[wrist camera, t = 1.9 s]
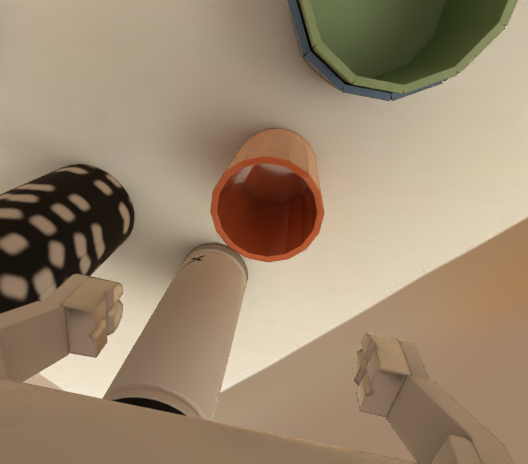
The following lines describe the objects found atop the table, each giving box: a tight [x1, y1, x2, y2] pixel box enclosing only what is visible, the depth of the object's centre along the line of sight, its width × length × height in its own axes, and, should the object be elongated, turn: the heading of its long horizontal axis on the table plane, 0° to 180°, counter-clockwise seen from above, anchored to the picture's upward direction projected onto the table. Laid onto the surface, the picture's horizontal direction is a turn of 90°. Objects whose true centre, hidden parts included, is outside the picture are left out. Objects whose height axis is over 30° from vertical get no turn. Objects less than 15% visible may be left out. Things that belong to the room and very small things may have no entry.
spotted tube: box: [0, 164, 134, 314], centre depth 23 cm, size 8×8×20 cm
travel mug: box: [103, 244, 248, 421], centre depth 25 cm, size 6×7×20 cm
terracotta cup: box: [211, 128, 324, 262], centre depth 25 cm, size 6×6×10 cm
